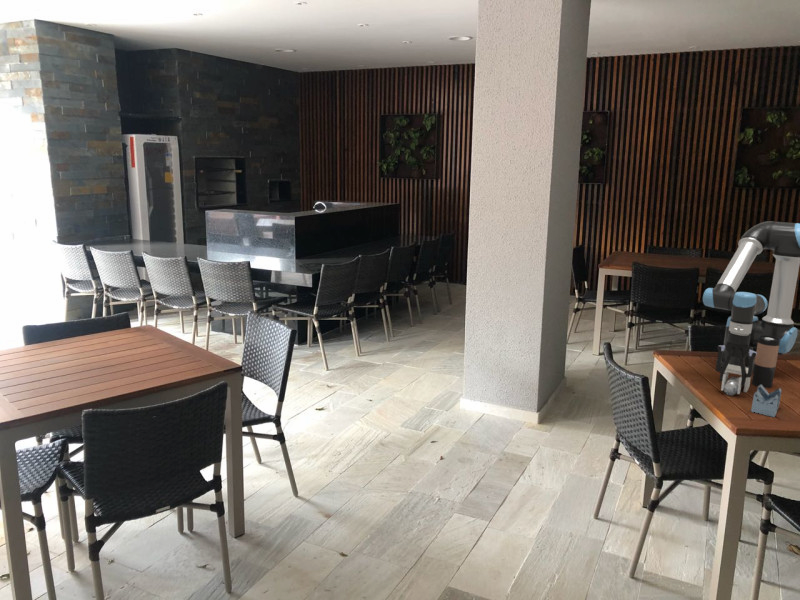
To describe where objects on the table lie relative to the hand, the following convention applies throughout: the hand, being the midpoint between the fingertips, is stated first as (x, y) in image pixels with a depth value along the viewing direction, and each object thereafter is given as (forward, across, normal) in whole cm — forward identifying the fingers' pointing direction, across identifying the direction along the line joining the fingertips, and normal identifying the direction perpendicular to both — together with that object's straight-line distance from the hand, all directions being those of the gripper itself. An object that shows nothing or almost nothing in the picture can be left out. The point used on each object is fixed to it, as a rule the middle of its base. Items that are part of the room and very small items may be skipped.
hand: (730, 391), depth 249 cm
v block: (+1, +13, -9) cm, 16 cm away
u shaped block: (+1, 0, +11) cm, 11 cm away
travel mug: (+2, +8, +22) cm, 24 cm away
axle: (+1, 0, +4) cm, 4 cm away
